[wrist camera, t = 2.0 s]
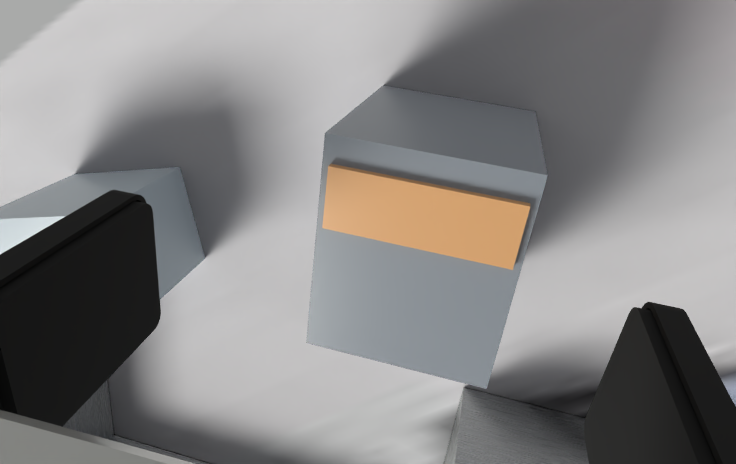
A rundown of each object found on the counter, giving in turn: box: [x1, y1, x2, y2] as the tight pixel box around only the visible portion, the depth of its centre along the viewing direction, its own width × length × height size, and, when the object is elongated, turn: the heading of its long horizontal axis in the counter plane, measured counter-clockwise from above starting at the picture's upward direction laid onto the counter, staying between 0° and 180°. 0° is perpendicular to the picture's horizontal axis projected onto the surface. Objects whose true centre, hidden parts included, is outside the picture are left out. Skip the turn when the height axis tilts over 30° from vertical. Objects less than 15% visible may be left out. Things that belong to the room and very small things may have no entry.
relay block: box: [0, 167, 205, 299], centre depth 21 cm, size 5×4×5 cm
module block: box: [306, 85, 548, 389], centre depth 16 cm, size 5×6×7 cm
